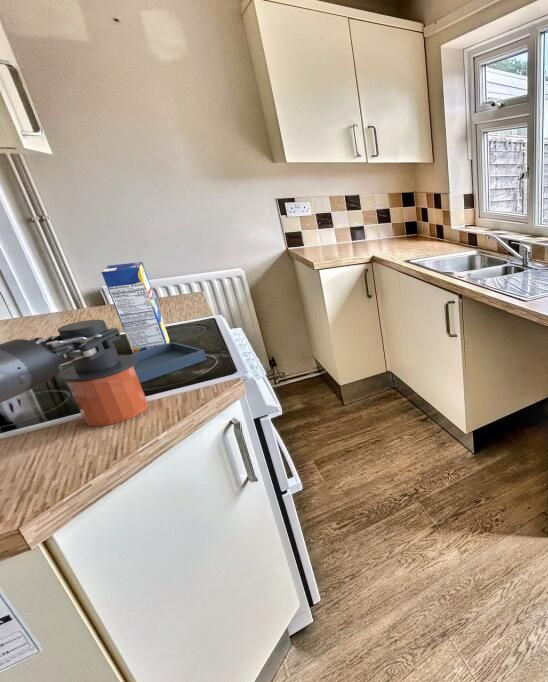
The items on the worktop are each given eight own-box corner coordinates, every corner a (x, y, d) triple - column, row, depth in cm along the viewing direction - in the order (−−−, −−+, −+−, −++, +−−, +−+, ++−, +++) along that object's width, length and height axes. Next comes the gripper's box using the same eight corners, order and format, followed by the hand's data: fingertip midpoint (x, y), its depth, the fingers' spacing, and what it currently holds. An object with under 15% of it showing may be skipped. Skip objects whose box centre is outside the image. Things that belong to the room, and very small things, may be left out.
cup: (99, 430, 75) (79, 385, 71) (77, 419, 78) (57, 376, 75) (158, 407, 82) (142, 365, 79) (134, 398, 86) (118, 357, 83)
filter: (81, 402, 71) (53, 338, 67) (55, 390, 76) (27, 330, 72) (154, 377, 80) (132, 319, 76) (126, 368, 85) (105, 313, 80)
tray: (110, 393, 88) (106, 382, 87) (80, 381, 94) (76, 370, 93) (207, 359, 104) (204, 349, 103) (175, 351, 110) (172, 341, 109)
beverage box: (134, 358, 106) (101, 272, 98) (138, 345, 115) (107, 265, 107) (168, 351, 110) (138, 267, 102) (169, 340, 118) (142, 261, 110)
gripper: (40, 347, 60) (132, 312, 76) (-66, 351, 60) (49, 316, 75) (61, 393, 63) (146, 351, 79) (-39, 398, 62) (66, 354, 78)
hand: (98, 334), depth 77 cm, fingers closed on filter, 6 cm apart
